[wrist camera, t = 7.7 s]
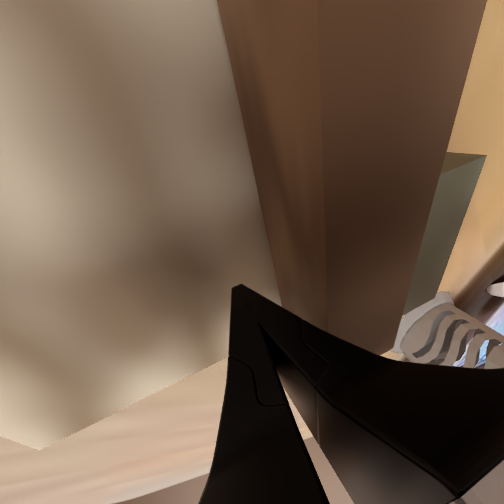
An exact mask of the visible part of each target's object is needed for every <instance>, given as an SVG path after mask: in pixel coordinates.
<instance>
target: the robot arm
mask: <svg viewBox="0 0 504 504" xmlns="http://www.w3.org/2000/svg"><path fill="white" fill-rule="evenodd" d="M228 356H229V357H228V367H227V379H226V388H225V395H224V401H223V407H222V413H221V418H220V424H219V430H218V436H217V441H216V447H215V452H214V457H213V461H212V466H211V469H210V473H209V477H208V480H207V483H206V485H205V488H204V491H203V493H202V496H201V498H200V501H199V503H198V504H330V503H329V501H328V498H327V496H326V494H325V491H324V489H323V486H322V484H321V482H320V479H319V477H318V474H317V472H316V470H315V467H314V465H313V462H312V460H311V458H310V455H309V453H308V451H307V448H306V446H305V443H304V441H303V439H302V436H301V434H300V431H299V429H298V426H297V424H296V421H295V419H294V416H293V413H292V411H291V408H290V406H289V402H288V400H287V397H286V394H285V392H284V389H285V390H286V392H287V393H288V395H289V397H290V398H291V400H292V402H293V403H294V405H295V407H296V408H297V410H298V412H299V413H300V415H301V416H302V418H303V420H304V421H305V423H306V425H307V426H308V428H309V430H310V431H311V433H312V435H313V436H314V438H315V440H316V441H317V443H318V444H319V445H320V448H321V449H322V451H323V453H324V454H325V456H326V458H327V459H328V461H329V463H330V464H331V466H332V468H333V469H334V471H335V472H336V474H337V476H338V477H339V479H340V481H341V482H342V484H343V486H344V487H345V489H346V491H347V492H348V494H349V495H350V497H351V499H352V500H353V502H354V503H355V504H504V367H503V368H495V369H479V368H467V367H456V366H445V365H434V364H423V363H412V362H402V361H397V360H392V359H388V358H385V357H382V356H379V355H377V354H375V353H372V352H370V351H368V350H366V349H363V348H361V347H359V346H357V345H354V344H352V343H350V342H347V341H345V340H343V339H341V338H338V337H336V336H334V335H332V334H330V333H328V332H326V331H324V330H322V329H320V328H318V327H316V326H314V325H312V324H311V323H309V322H307V321H306V320H304V319H303V320H302V318H300V317H299V316H297V315H295V314H293V313H292V312H290V311H288V310H286V309H285V308H283V307H281V306H280V305H278V304H276V303H274V302H273V301H271V300H269V299H267V298H266V297H264V296H262V295H260V294H259V293H257V292H255V291H254V290H252V289H250V288H248V287H247V286H245V285H243V284H239V285H237V286H234V287H232V289H231V309H230V329H229V350H228ZM282 385H283V386H282ZM283 387H284V389H283Z"/></svg>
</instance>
